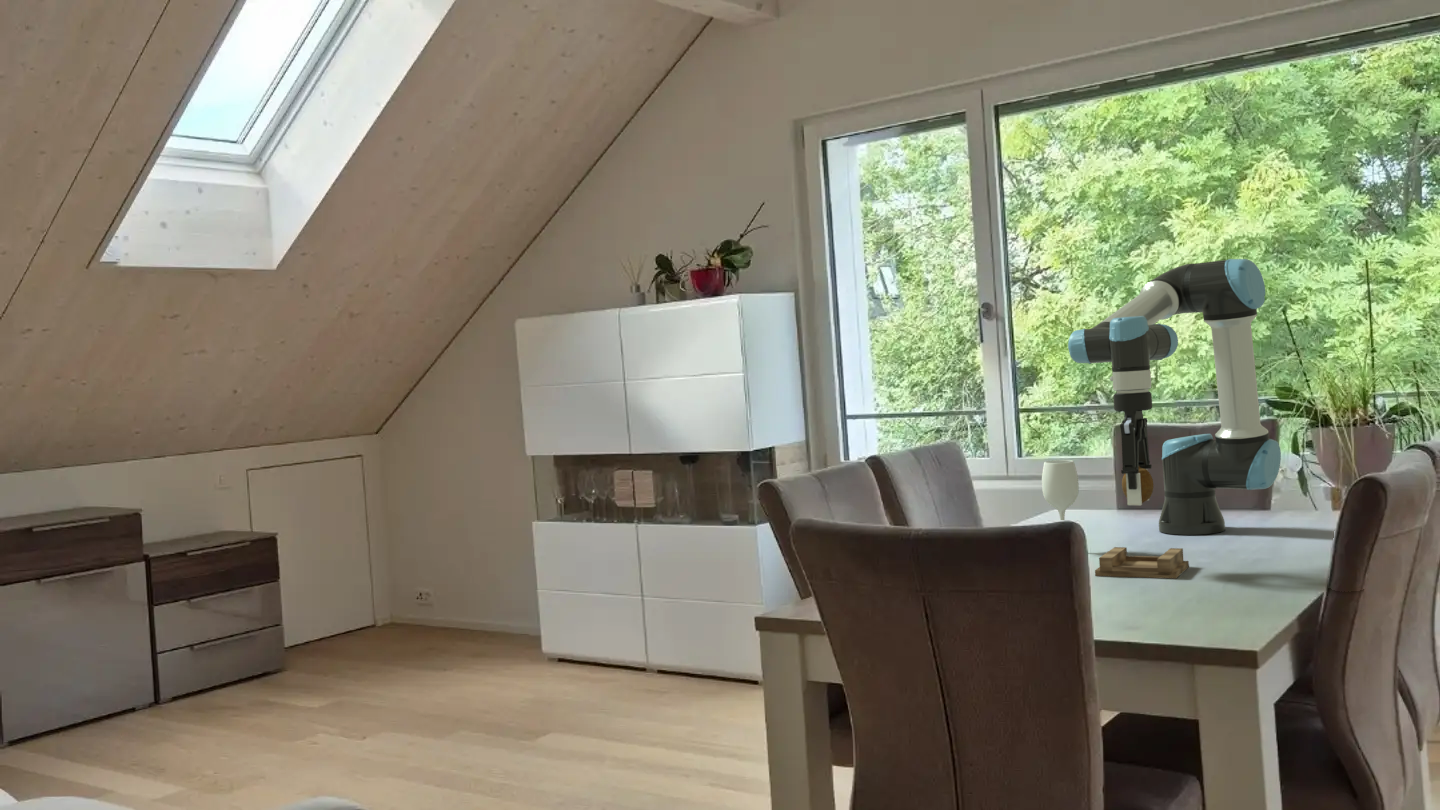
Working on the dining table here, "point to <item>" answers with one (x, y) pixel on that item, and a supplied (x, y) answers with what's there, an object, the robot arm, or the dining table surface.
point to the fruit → (1142, 484)
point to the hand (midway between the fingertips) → (1138, 502)
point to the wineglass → (1060, 484)
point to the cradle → (1142, 564)
